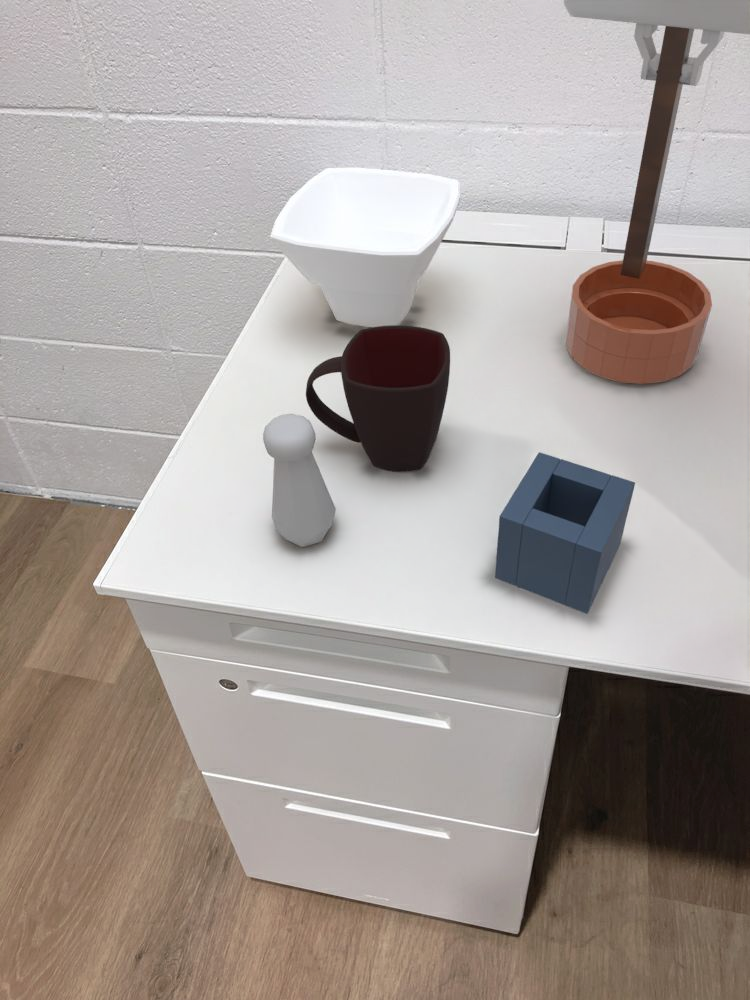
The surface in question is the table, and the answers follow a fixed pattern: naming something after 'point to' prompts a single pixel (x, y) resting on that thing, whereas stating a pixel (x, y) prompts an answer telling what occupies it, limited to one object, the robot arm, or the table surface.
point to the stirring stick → (656, 148)
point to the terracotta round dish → (637, 322)
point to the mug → (389, 393)
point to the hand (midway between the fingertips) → (669, 80)
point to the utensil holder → (562, 530)
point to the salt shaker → (297, 481)
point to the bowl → (366, 237)
